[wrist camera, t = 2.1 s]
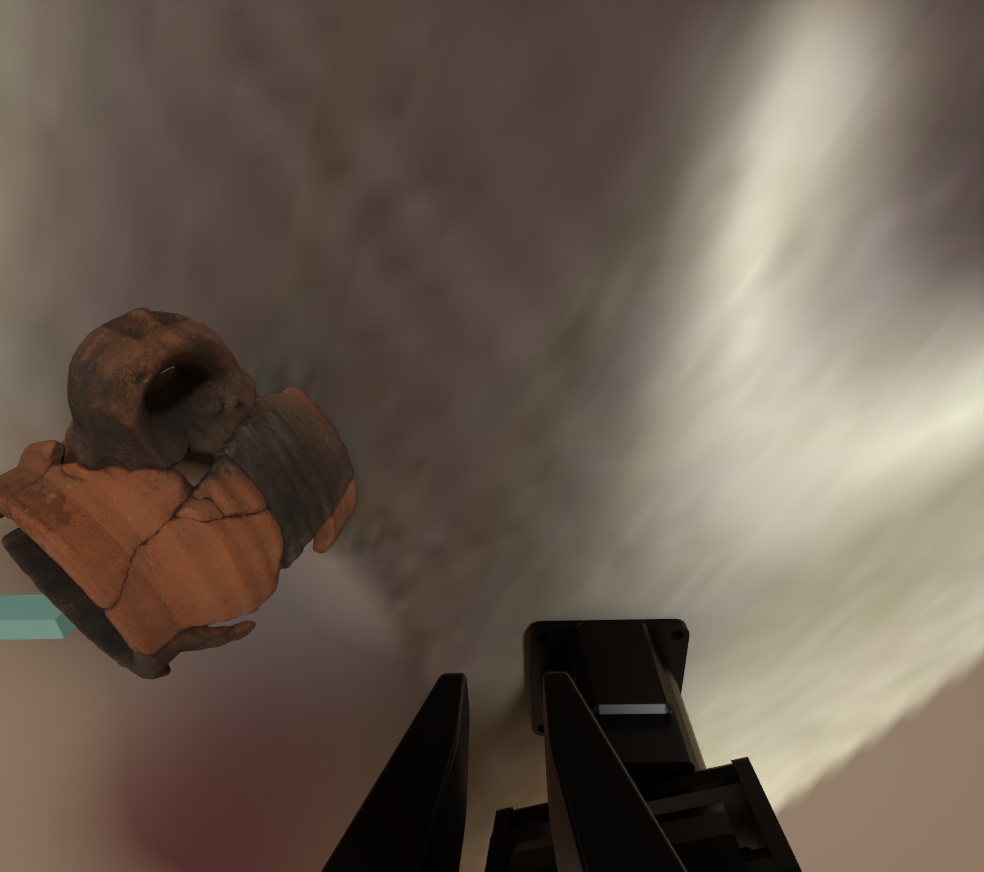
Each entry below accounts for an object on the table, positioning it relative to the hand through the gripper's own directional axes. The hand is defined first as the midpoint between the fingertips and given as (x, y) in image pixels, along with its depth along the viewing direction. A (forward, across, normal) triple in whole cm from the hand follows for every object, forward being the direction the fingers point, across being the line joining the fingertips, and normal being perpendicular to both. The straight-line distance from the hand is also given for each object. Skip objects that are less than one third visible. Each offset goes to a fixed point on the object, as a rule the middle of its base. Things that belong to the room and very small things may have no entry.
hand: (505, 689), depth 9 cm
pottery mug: (+11, +10, 0) cm, 15 cm away
